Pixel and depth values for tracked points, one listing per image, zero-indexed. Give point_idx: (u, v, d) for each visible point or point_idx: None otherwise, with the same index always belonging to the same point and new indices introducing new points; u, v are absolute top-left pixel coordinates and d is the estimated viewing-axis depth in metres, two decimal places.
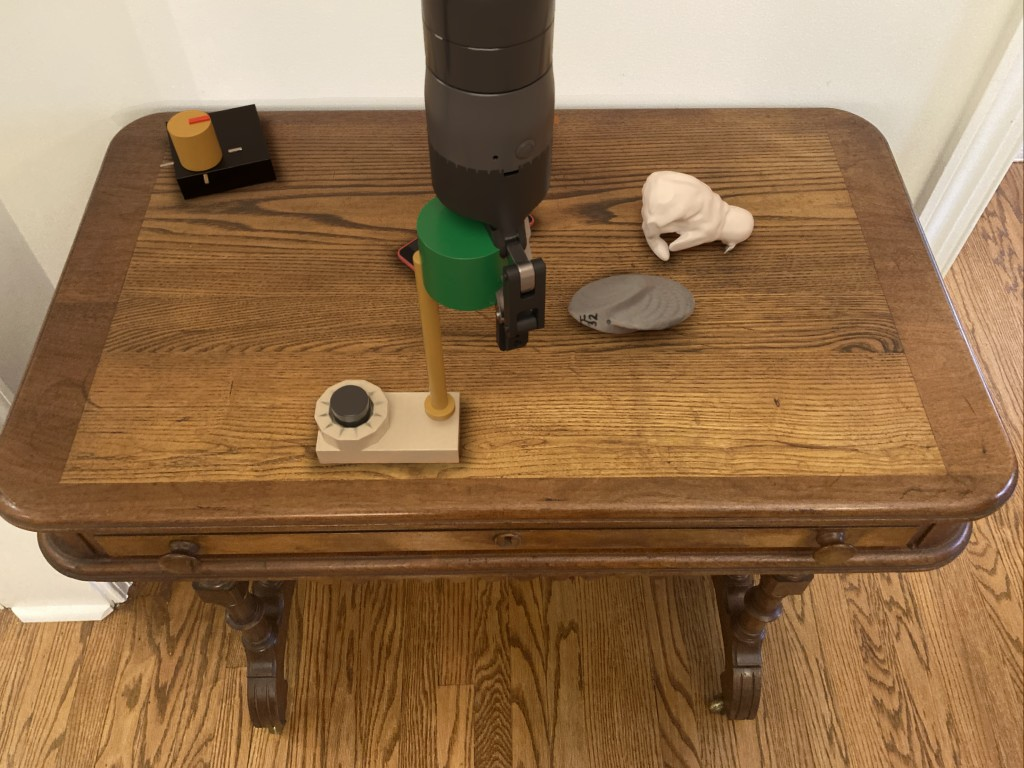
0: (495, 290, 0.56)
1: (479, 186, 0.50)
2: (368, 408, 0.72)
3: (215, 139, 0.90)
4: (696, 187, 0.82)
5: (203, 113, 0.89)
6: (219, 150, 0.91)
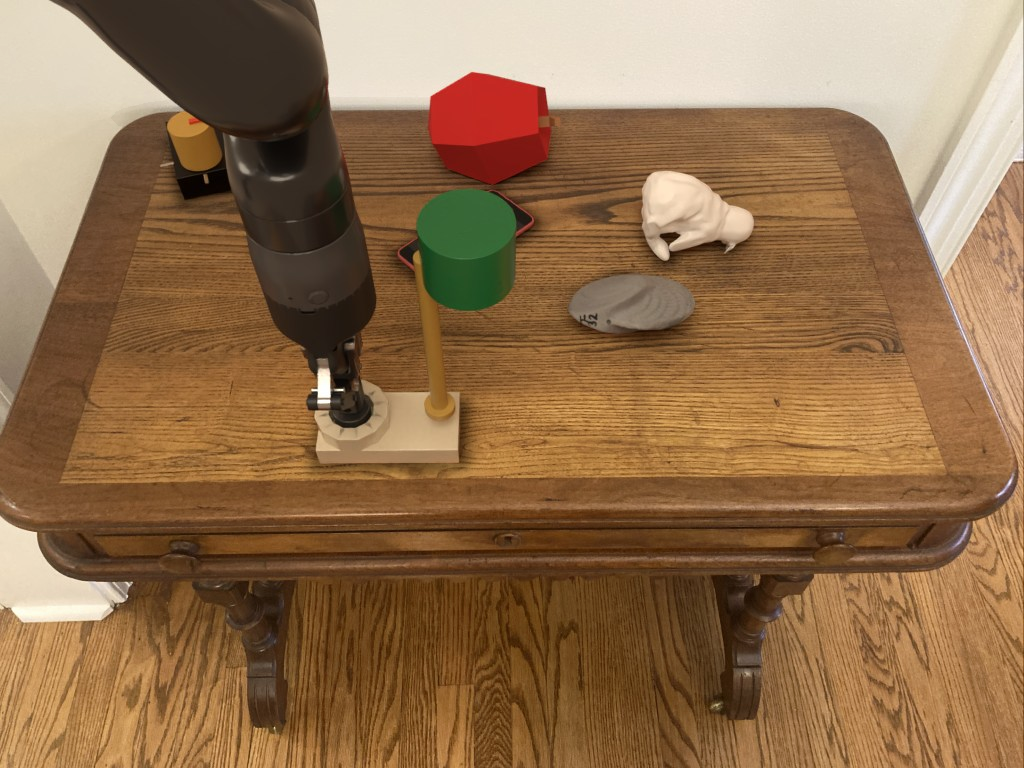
0: (495, 290, 0.56)
1: (284, 315, 0.57)
2: (369, 414, 0.72)
3: (215, 139, 0.90)
4: (696, 187, 0.82)
5: None
6: (219, 150, 0.91)
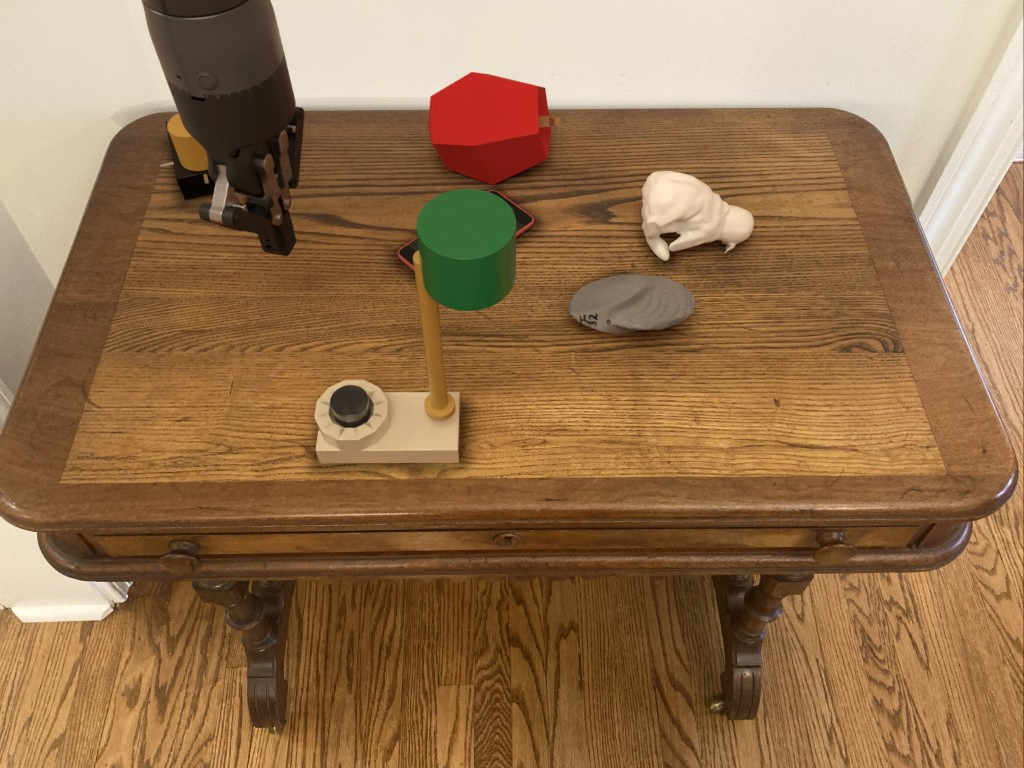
0: (495, 290, 0.56)
1: (179, 101, 0.53)
2: (368, 408, 0.72)
3: None
4: (696, 187, 0.82)
5: None
6: None
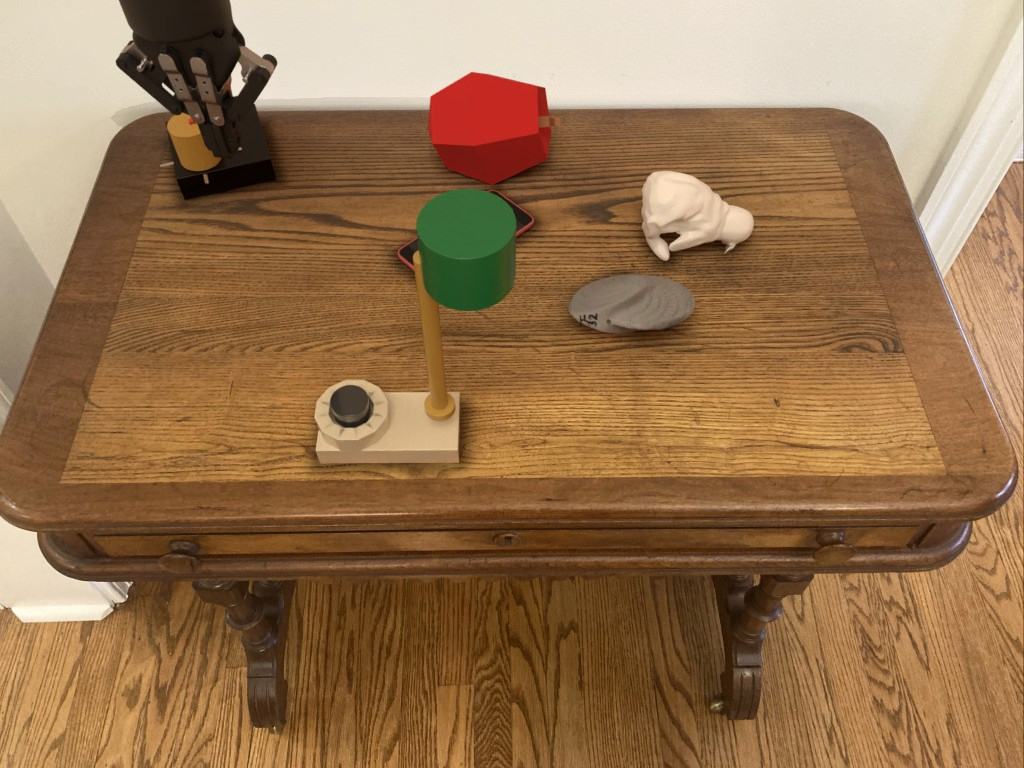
0: (495, 290, 0.56)
1: None
2: (368, 408, 0.72)
3: None
4: (696, 187, 0.82)
5: None
6: None
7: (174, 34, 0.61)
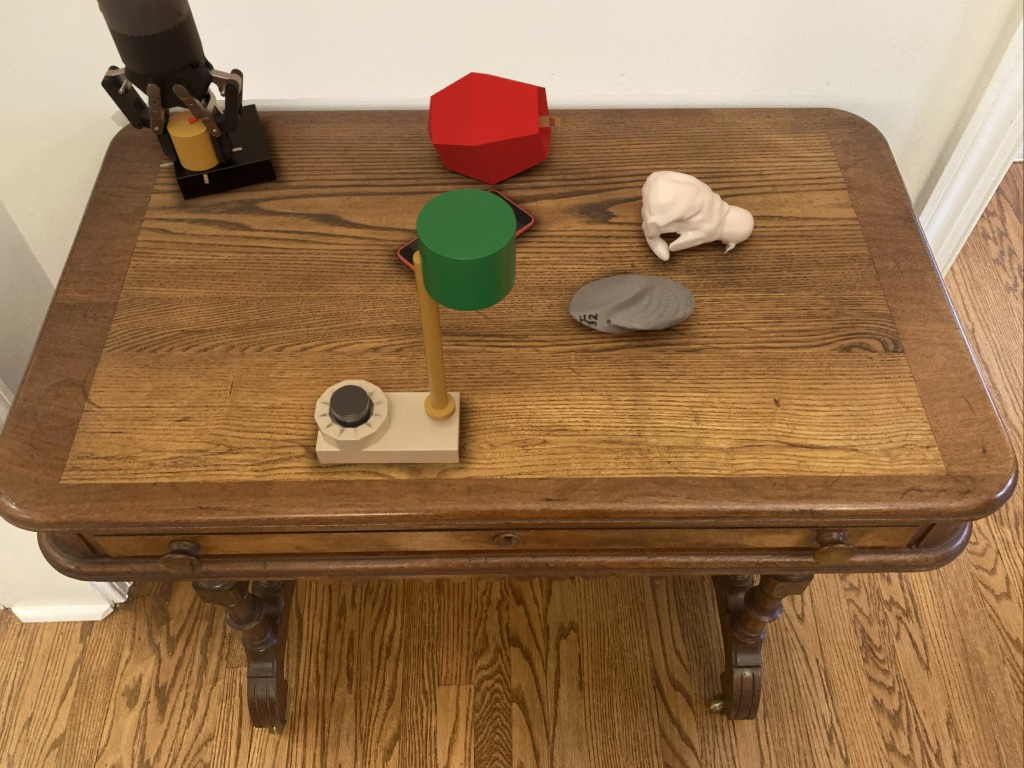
0: (495, 290, 0.56)
1: None
2: (368, 408, 0.72)
3: None
4: (696, 187, 0.82)
5: None
6: None
7: (162, 68, 0.79)
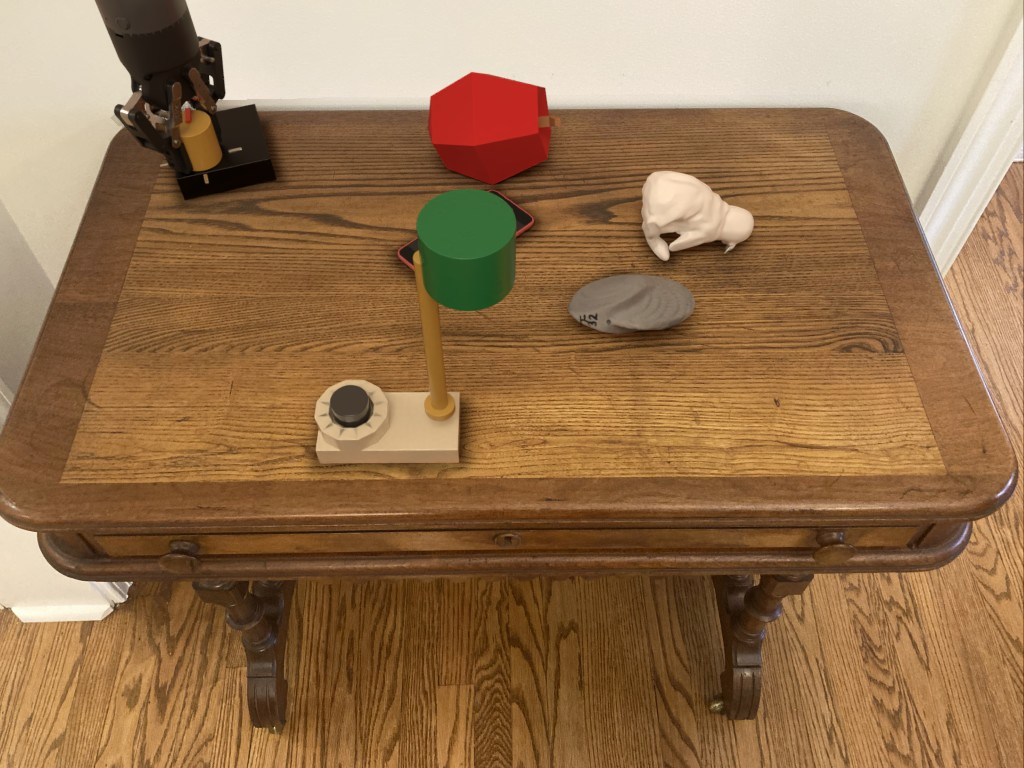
0: (495, 290, 0.56)
1: (110, 36, 0.78)
2: (368, 408, 0.72)
3: None
4: (696, 187, 0.82)
5: None
6: None
7: (195, 46, 0.81)
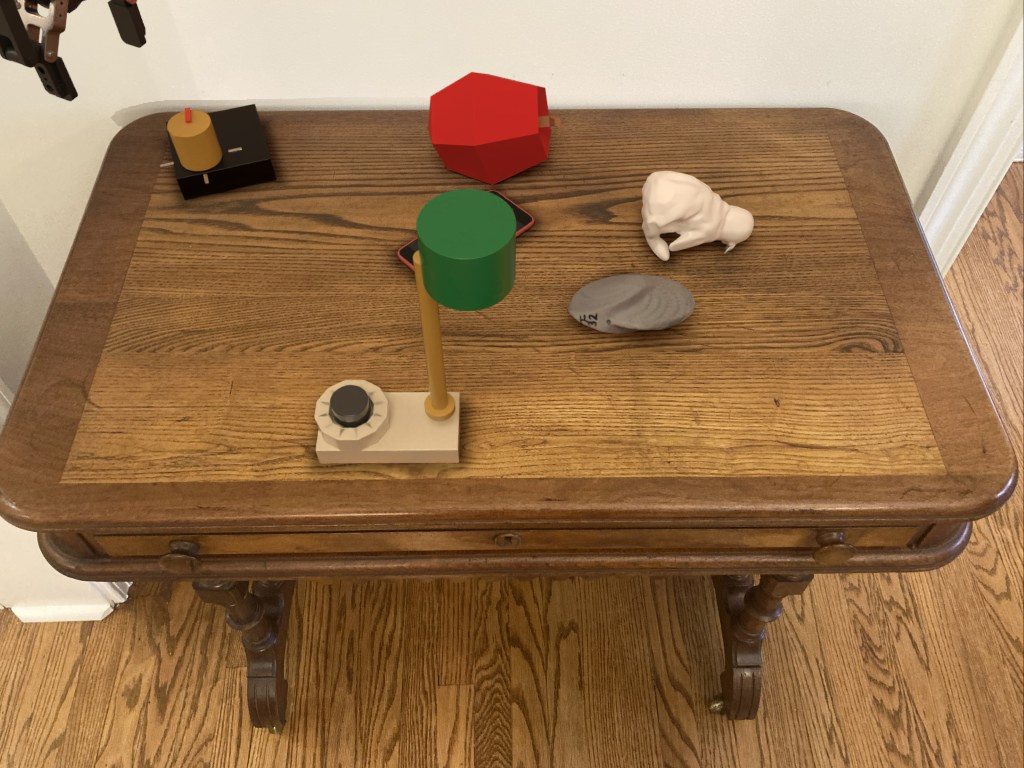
0: (495, 290, 0.56)
1: None
2: (368, 408, 0.72)
3: None
4: (696, 187, 0.82)
5: (177, 114, 0.89)
6: None
7: None
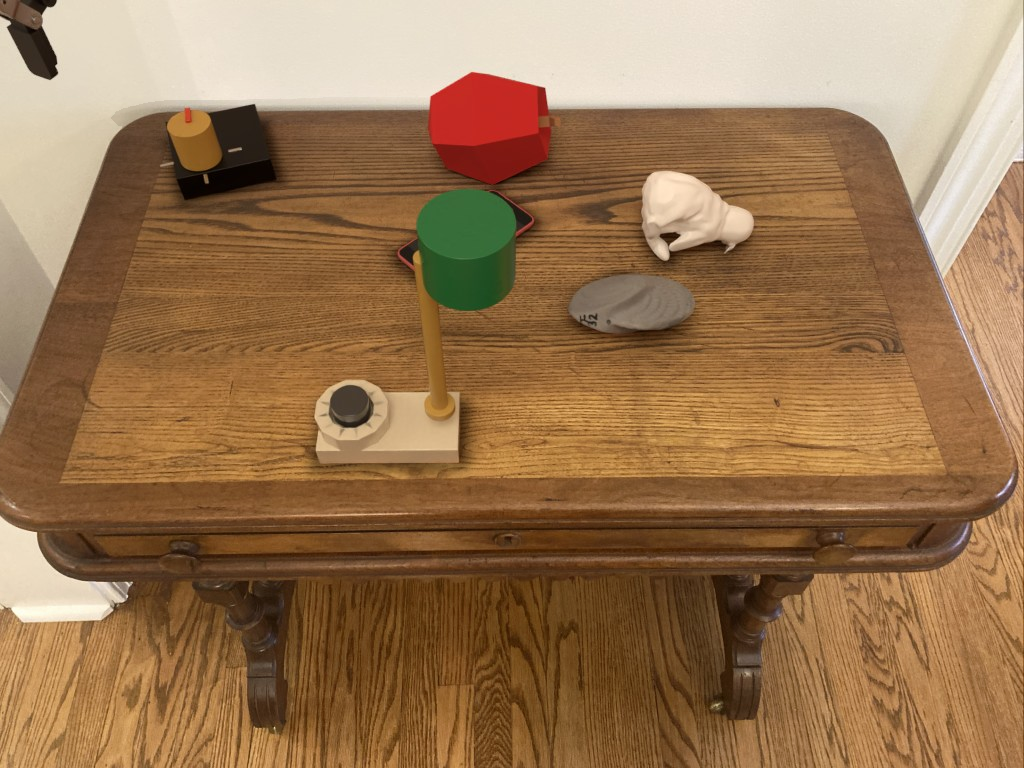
0: (495, 290, 0.56)
1: None
2: (368, 408, 0.72)
3: None
4: (696, 187, 0.82)
5: (177, 114, 0.89)
6: None
7: None
